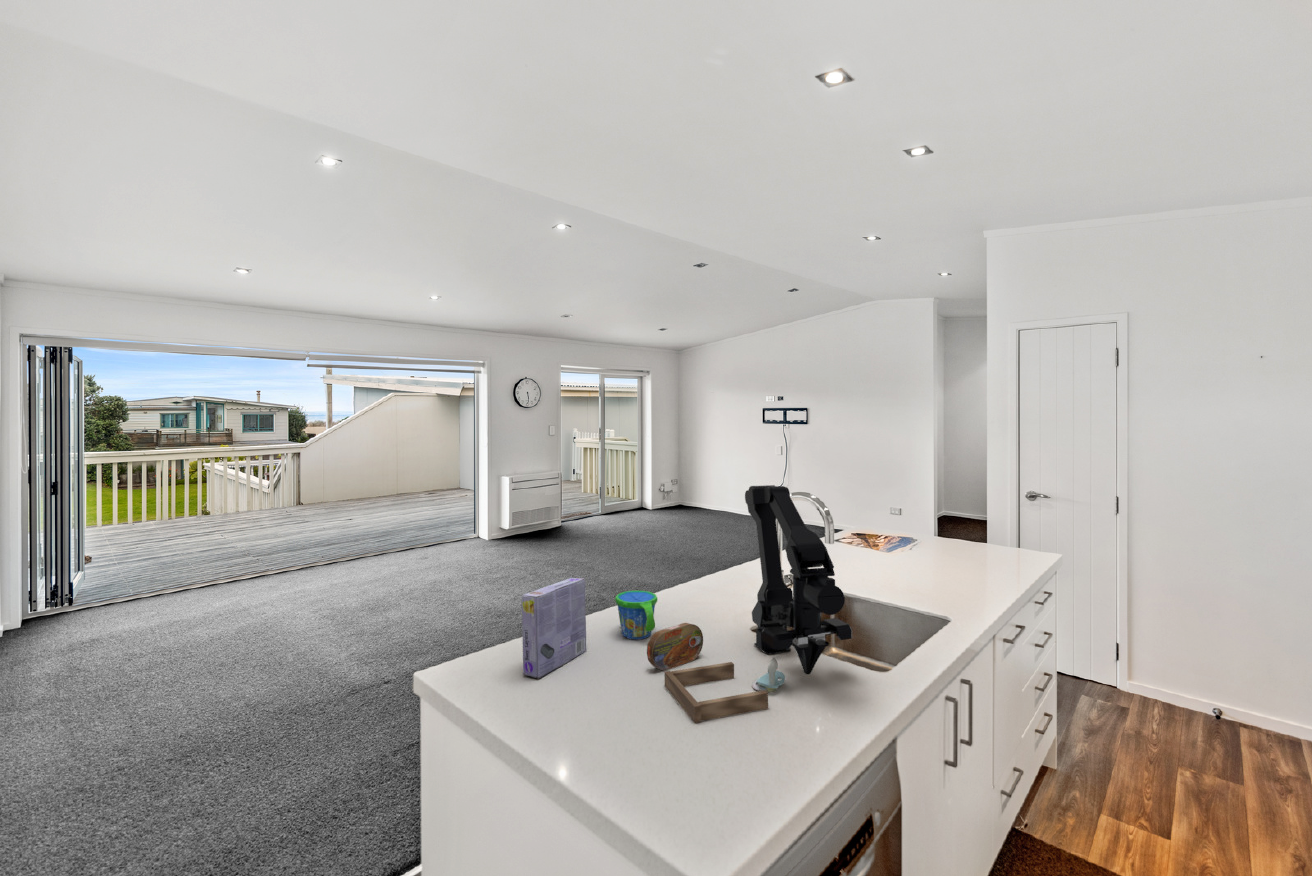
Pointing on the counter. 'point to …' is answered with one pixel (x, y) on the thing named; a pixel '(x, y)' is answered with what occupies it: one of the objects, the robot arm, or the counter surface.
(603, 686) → the counter surface
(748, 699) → the walnut bay
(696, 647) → the tin
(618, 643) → the counter surface
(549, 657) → the cake pan box
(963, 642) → the counter surface
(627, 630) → the snack cup
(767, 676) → the pacifier
